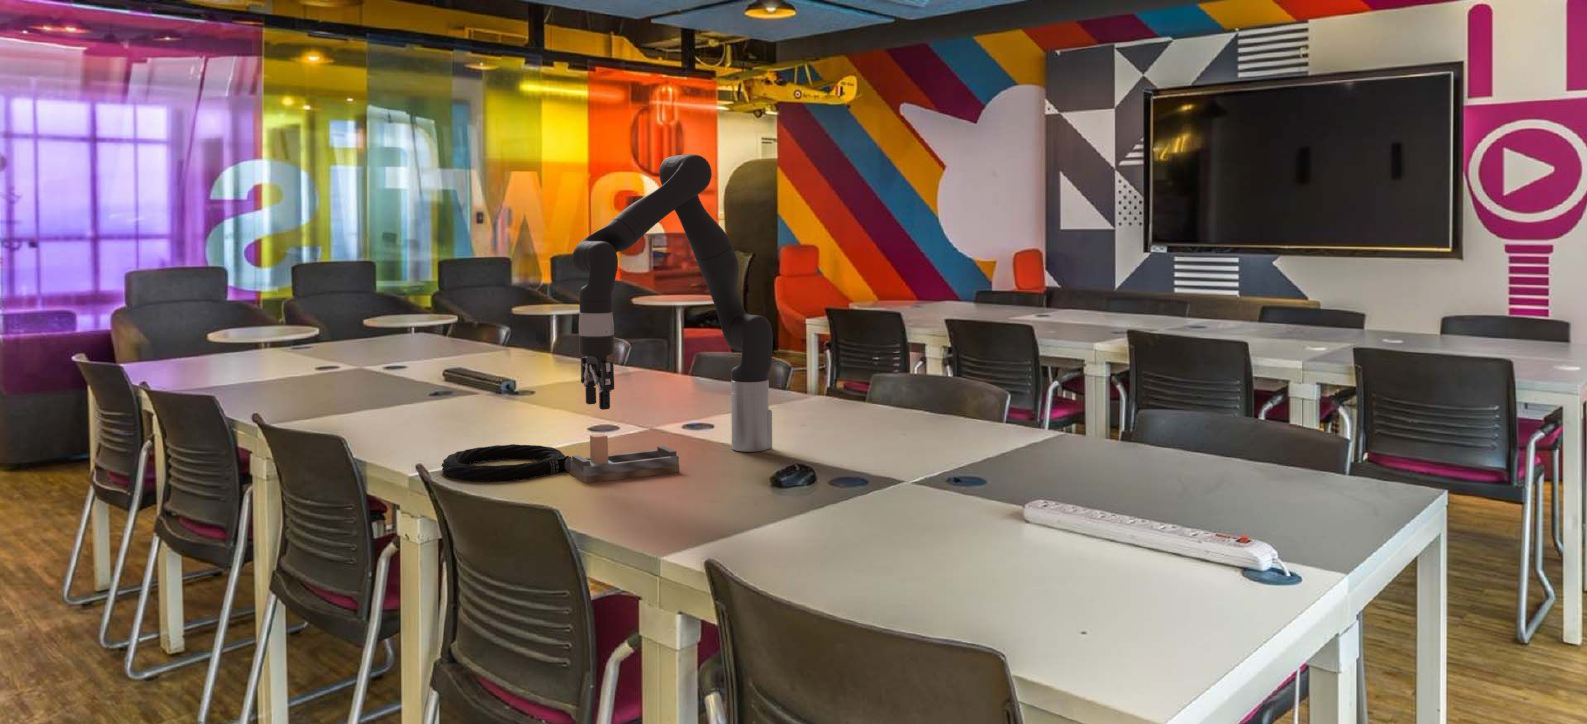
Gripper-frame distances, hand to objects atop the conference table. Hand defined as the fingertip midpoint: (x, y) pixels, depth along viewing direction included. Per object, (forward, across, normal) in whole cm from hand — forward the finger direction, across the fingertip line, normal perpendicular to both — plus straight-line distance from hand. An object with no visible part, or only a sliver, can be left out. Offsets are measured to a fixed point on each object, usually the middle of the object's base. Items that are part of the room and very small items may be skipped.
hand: (597, 406), depth 252 cm
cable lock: (+16, +18, +15) cm, 28 cm away
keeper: (+14, 0, 0) cm, 14 cm away
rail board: (+16, 0, -6) cm, 17 cm away
